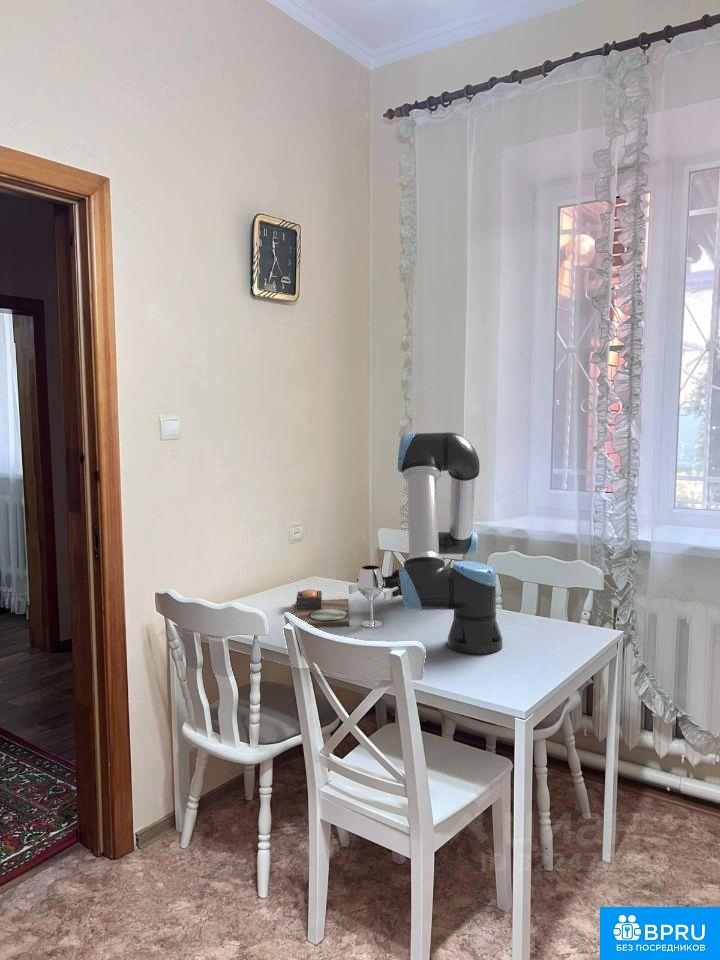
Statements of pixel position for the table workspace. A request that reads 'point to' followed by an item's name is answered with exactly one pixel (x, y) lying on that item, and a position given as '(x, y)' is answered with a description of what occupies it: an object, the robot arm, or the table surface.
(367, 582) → the wineglass
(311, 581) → the table surface
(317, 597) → the board
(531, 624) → the table surface
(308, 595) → the button
